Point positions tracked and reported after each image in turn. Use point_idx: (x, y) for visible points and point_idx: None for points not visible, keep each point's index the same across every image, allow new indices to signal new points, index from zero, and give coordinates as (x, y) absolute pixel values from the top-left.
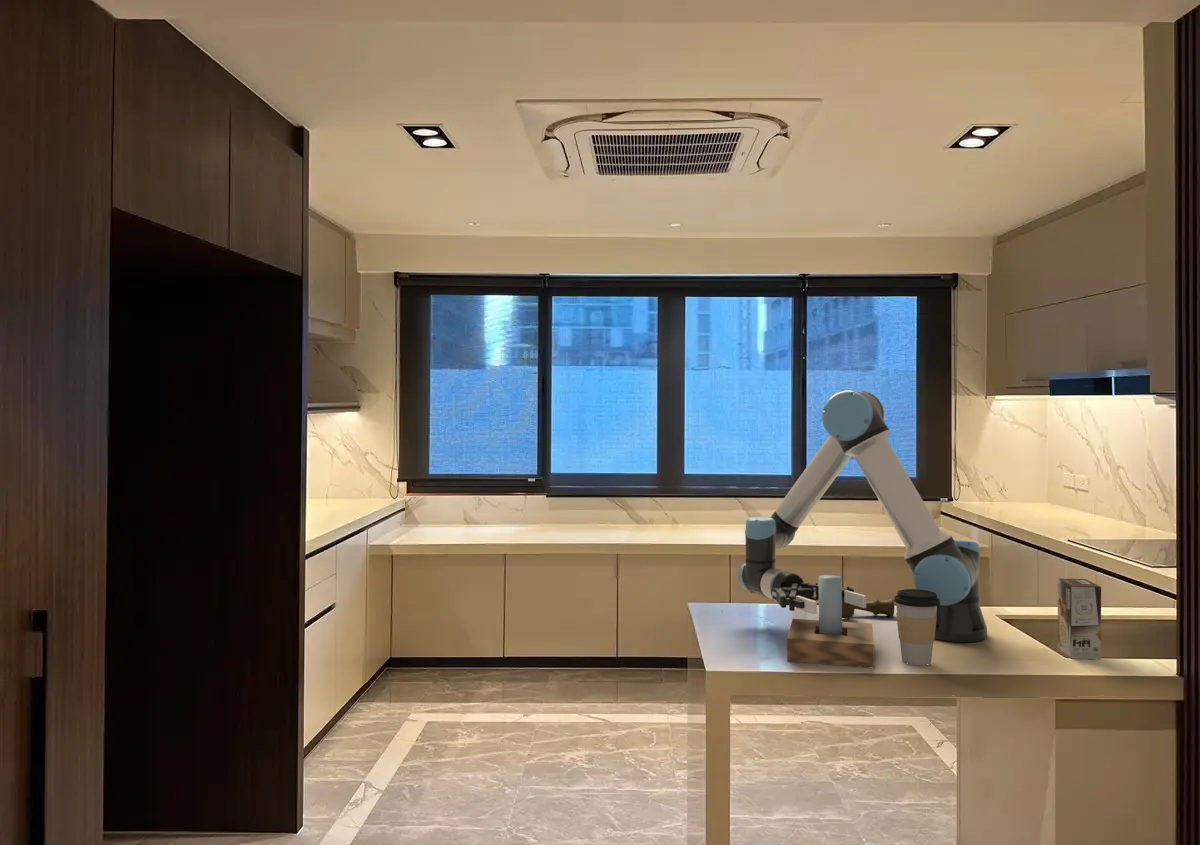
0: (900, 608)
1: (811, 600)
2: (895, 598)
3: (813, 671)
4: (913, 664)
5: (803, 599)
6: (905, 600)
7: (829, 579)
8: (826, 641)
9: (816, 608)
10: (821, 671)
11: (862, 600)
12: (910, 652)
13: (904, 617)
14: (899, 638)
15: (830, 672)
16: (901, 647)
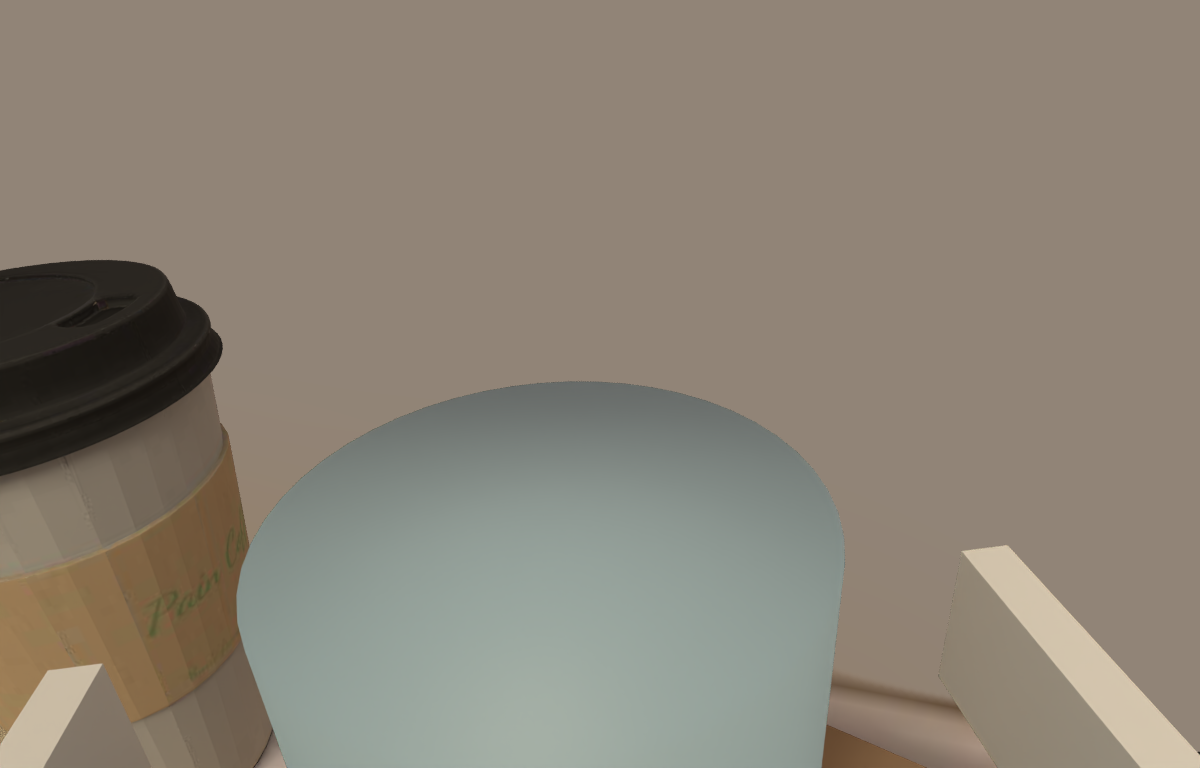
0: (193, 420)
1: (1037, 610)
2: (148, 380)
3: (968, 740)
4: None
5: (1186, 761)
6: (186, 325)
7: (682, 400)
8: (838, 731)
9: (952, 624)
10: (910, 728)
11: (113, 737)
12: None
13: (227, 451)
14: (219, 663)
15: (853, 699)
16: (232, 702)
